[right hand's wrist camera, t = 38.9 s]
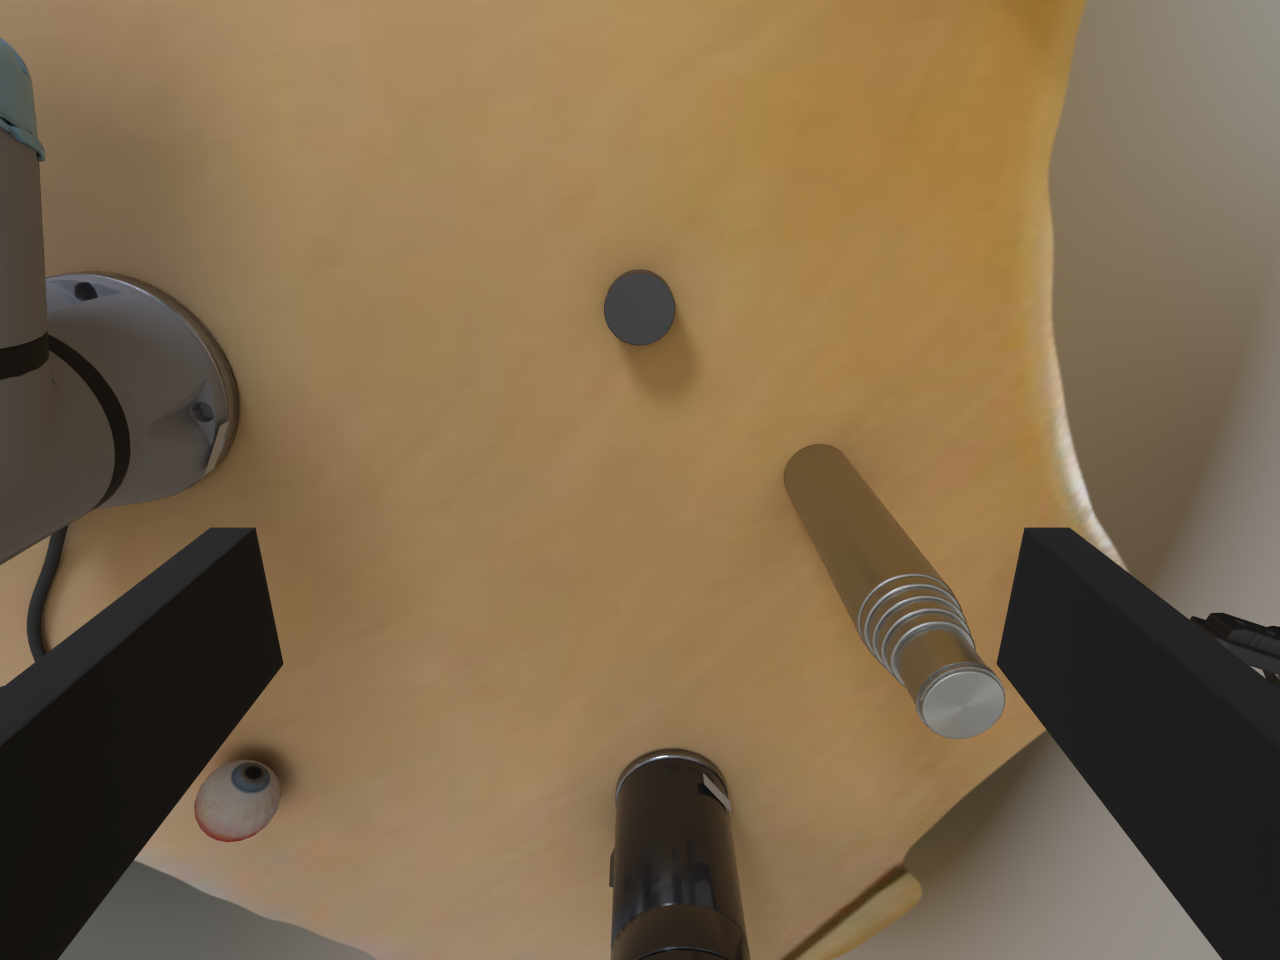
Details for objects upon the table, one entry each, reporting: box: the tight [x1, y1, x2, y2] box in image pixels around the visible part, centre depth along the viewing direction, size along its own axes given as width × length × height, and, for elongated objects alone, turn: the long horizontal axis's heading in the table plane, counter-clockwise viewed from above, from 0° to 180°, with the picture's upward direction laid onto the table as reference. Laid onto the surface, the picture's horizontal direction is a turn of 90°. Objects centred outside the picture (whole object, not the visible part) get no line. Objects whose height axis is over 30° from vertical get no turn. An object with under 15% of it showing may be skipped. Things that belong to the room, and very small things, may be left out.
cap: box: [604, 270, 675, 345], centre depth 47 cm, size 4×4×3 cm
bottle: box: [784, 445, 1005, 739], centre depth 40 cm, size 5×5×25 cm
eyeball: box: [195, 760, 281, 842], centre depth 59 cm, size 6×6×6 cm
